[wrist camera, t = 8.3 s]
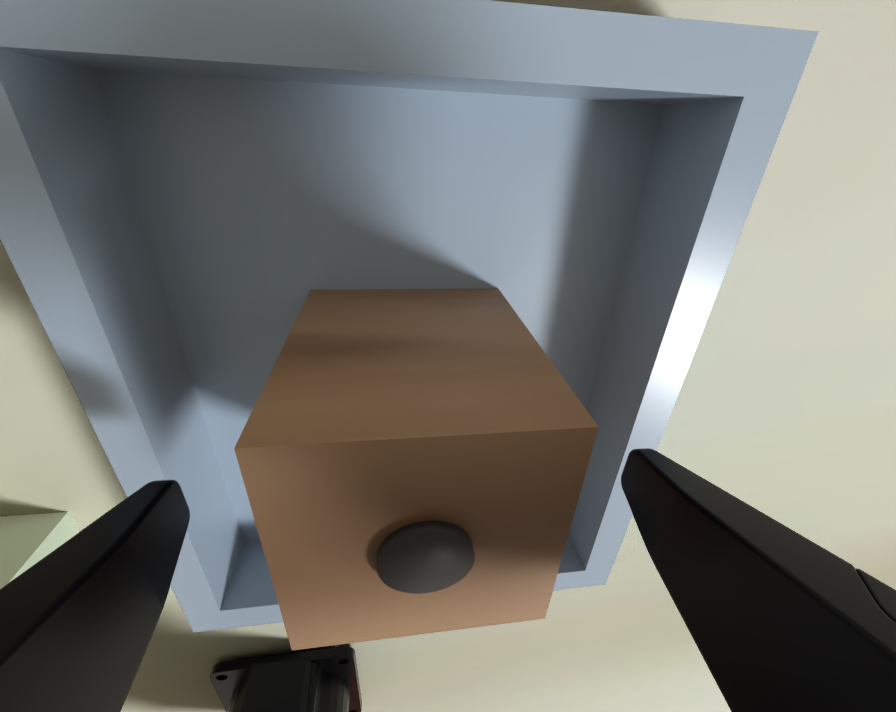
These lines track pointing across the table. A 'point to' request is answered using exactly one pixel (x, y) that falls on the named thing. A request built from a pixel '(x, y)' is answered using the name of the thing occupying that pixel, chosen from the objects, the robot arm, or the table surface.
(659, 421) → the tray
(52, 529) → the sage block
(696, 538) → the robot arm
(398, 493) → the walnut block
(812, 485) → the table surface
